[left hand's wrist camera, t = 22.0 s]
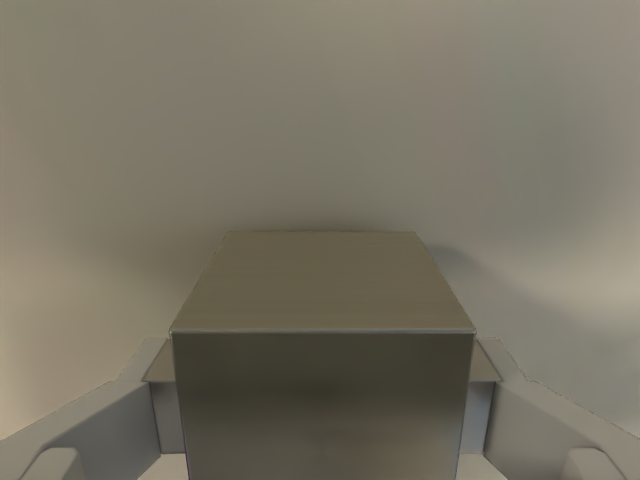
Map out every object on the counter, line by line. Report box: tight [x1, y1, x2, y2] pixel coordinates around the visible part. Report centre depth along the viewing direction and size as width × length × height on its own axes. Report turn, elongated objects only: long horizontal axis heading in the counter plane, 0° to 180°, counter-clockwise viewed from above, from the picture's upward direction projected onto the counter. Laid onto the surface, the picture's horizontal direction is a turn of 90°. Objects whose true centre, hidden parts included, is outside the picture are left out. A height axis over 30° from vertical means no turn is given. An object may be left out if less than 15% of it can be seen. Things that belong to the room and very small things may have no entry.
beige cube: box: [169, 231, 477, 480], centre depth 10 cm, size 5×5×5 cm
